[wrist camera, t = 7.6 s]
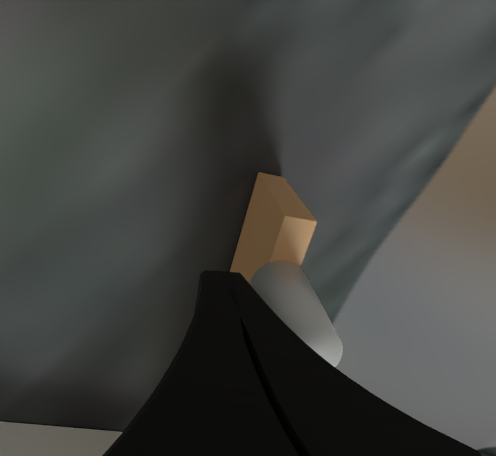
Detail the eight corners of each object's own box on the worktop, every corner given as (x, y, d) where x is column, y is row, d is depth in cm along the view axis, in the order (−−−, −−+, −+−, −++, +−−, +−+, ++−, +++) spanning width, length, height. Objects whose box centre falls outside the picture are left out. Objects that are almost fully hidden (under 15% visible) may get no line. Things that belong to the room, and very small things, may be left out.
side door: (212, 426, 20) (228, 597, 14) (176, 425, 20) (178, 601, 14) (293, 179, 15) (376, 282, 9) (248, 169, 14) (302, 271, 8)
